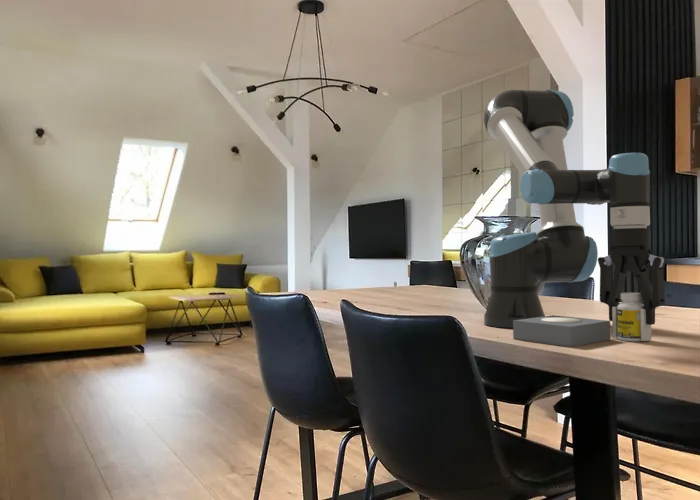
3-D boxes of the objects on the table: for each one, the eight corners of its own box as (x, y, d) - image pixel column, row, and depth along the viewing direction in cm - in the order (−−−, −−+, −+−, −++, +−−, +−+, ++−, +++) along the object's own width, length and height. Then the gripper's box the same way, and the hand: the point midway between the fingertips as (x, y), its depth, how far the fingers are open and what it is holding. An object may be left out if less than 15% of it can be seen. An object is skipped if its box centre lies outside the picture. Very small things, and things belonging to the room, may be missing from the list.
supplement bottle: (611, 339, 125) (610, 293, 125) (630, 337, 127) (630, 291, 127) (632, 342, 120) (631, 294, 120) (652, 340, 122) (651, 293, 122)
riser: (513, 338, 127) (513, 319, 127) (553, 332, 136) (552, 314, 136) (570, 347, 116) (570, 325, 116) (610, 339, 124) (609, 319, 124)
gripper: (579, 229, 129) (581, 335, 129) (665, 225, 114) (667, 346, 114) (599, 229, 133) (601, 332, 133) (684, 226, 118) (686, 341, 118)
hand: (631, 338), depth 123 cm, fingers closed on supplement bottle, 5 cm apart
